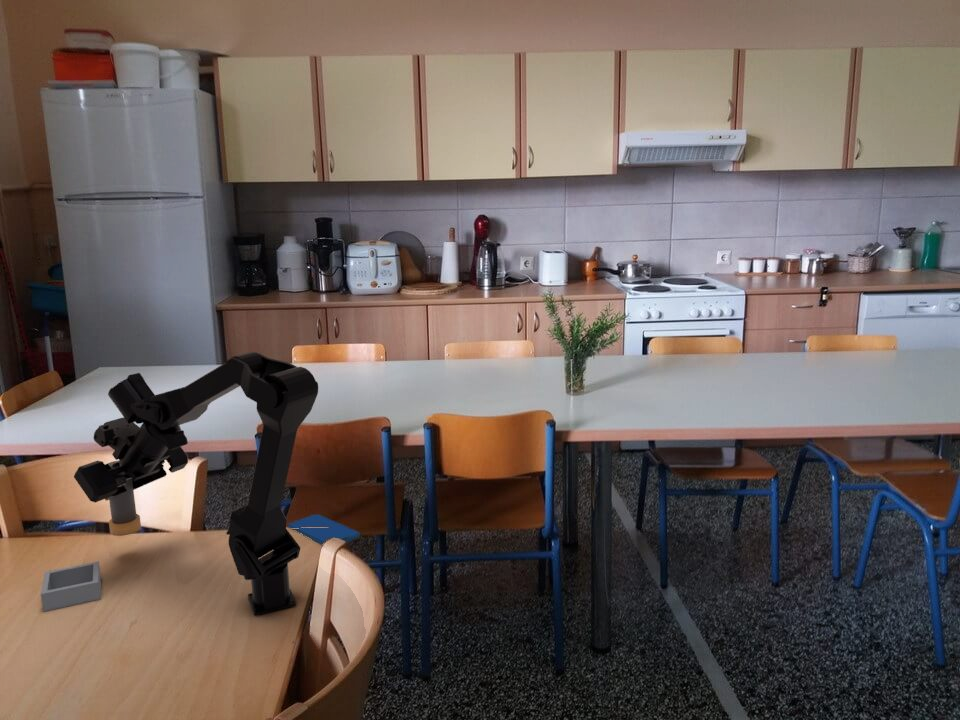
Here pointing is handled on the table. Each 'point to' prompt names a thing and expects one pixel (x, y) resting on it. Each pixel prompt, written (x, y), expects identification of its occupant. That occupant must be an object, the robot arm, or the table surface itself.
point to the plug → (124, 511)
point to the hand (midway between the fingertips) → (116, 493)
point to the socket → (71, 586)
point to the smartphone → (323, 529)
